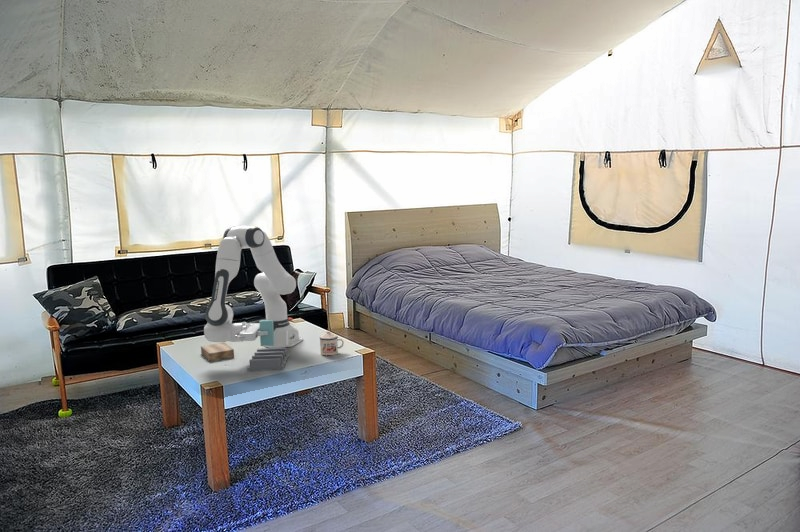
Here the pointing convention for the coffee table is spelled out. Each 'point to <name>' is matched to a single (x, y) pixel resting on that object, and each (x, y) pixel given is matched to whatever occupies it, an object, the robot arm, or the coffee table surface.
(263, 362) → the slotted rack
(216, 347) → the block
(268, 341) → the aqua rubber eraser
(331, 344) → the teacup with lid
